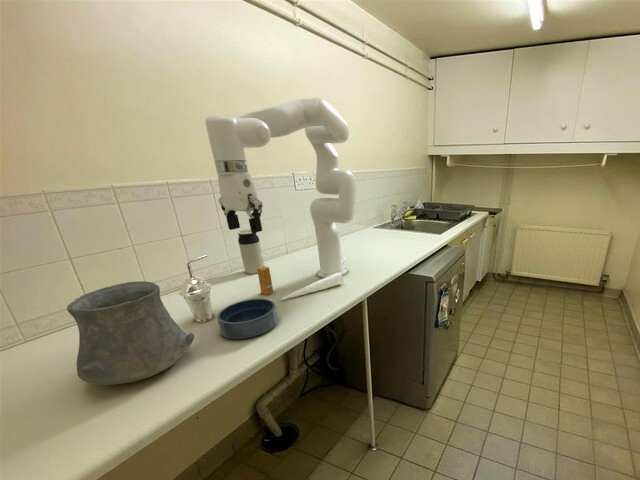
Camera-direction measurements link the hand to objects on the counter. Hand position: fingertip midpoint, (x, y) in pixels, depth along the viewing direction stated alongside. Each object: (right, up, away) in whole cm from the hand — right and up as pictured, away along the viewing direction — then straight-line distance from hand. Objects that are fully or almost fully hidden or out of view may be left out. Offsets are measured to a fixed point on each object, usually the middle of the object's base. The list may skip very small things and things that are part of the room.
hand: (245, 230), depth 90 cm
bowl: (0, -28, +3) cm, 29 cm away
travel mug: (-21, -12, +48) cm, 54 cm away
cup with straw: (-17, -27, +9) cm, 33 cm away
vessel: (-16, -36, -14) cm, 41 cm away
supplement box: (-6, -20, +26) cm, 33 cm away
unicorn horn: (+12, -19, +26) cm, 35 cm away
